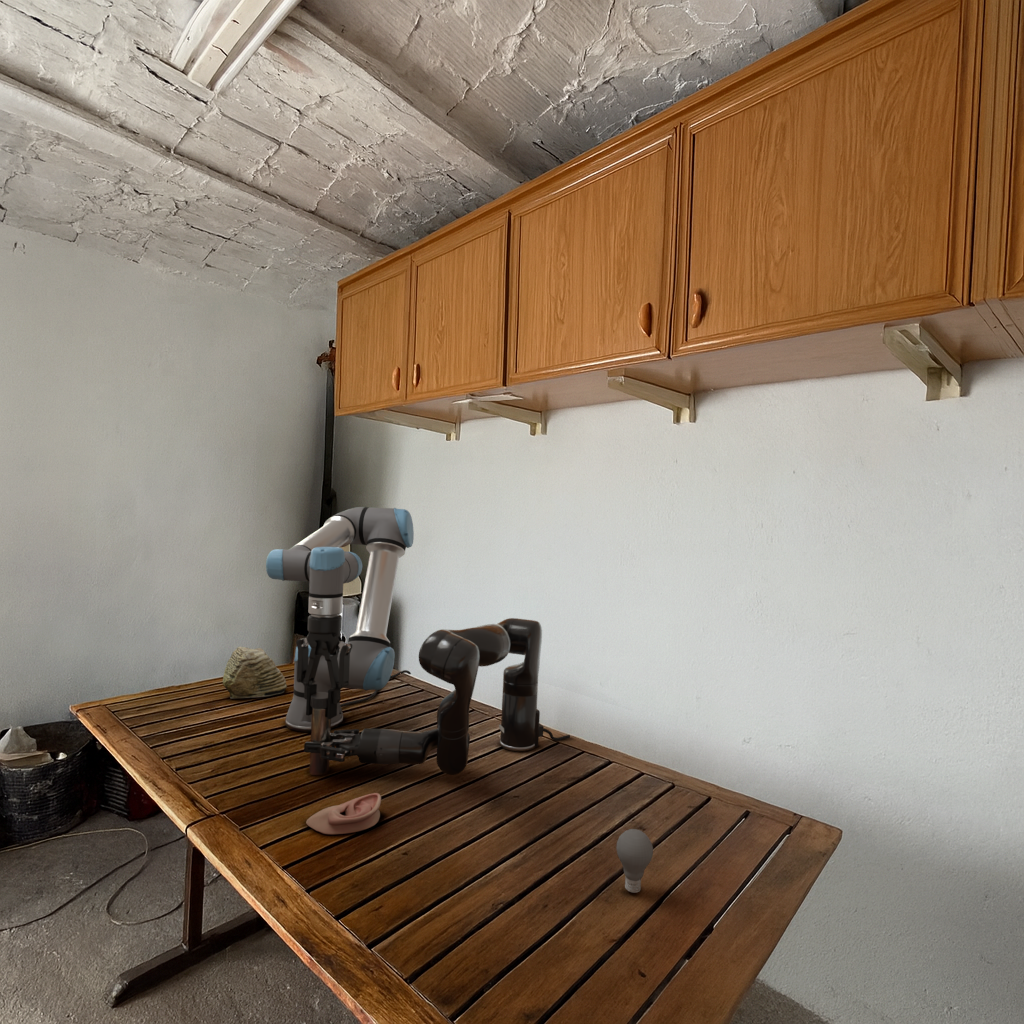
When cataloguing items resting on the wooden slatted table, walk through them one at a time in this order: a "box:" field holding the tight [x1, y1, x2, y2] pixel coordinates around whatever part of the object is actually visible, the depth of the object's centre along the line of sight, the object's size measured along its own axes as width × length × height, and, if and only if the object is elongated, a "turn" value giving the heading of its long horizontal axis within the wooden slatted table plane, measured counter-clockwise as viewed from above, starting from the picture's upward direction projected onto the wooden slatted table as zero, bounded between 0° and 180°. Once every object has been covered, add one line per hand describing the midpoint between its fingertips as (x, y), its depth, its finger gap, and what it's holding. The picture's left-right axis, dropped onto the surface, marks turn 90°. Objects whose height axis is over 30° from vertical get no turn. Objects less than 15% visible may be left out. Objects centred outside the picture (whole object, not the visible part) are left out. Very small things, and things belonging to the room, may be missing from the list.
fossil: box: [222, 646, 288, 699], centre depth 198 cm, size 9×18×15 cm, turn 132°
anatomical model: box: [305, 792, 382, 835], centre depth 124 cm, size 13×4×12 cm
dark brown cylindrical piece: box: [309, 707, 332, 776], centre depth 146 cm, size 4×4×17 cm
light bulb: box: [615, 828, 654, 894], centre depth 106 cm, size 6×6×10 cm
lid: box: [310, 692, 328, 708], centre depth 146 cm, size 5×5×2 cm
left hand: (321, 715), depth 146 cm, fingers closed on lid, 5 cm apart
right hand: (308, 742), depth 146 cm, fingers closed on dark brown cylindrical piece, 4 cm apart
